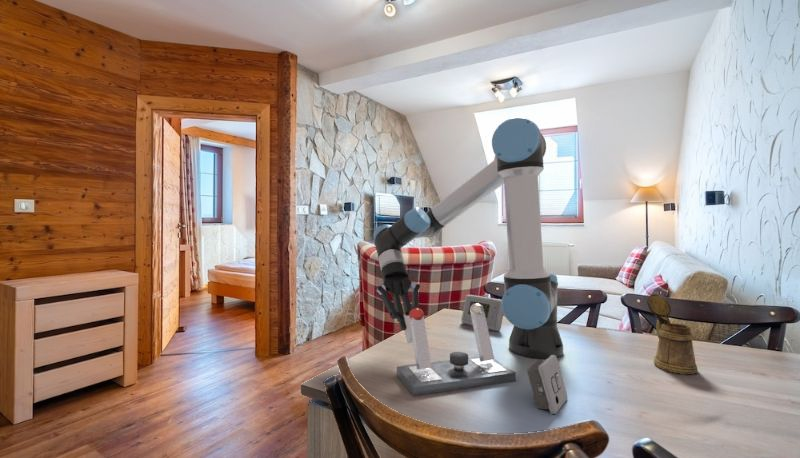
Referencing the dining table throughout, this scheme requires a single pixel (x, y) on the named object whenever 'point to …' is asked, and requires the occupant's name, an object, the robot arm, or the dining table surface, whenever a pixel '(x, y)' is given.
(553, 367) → the electrical switch
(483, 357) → the ivory knob lever
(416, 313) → the red knob lever
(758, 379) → the dining table surface
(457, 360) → the black button
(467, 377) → the console
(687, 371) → the wooden mug
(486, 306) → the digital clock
